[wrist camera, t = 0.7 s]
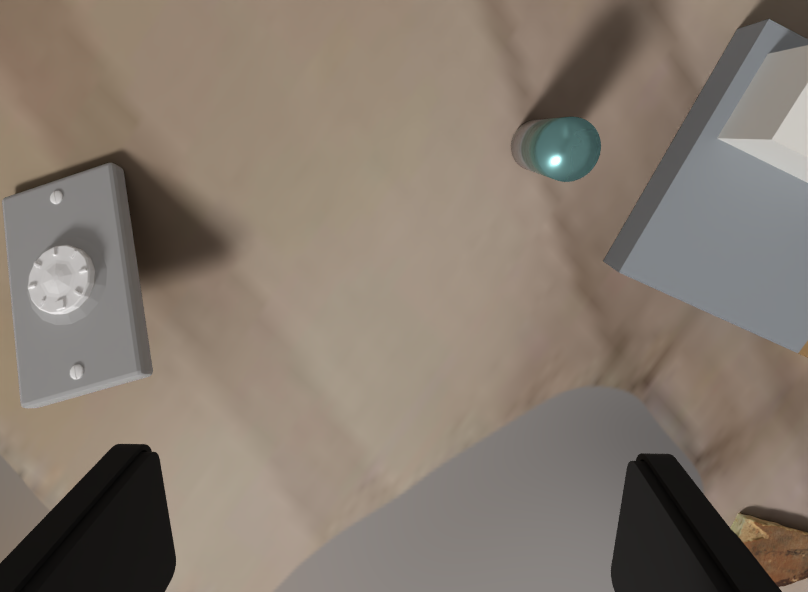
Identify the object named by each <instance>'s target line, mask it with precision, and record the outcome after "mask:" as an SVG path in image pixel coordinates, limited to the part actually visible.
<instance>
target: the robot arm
mask: <svg viewBox="0 0 808 592" xmlns="http://www.w3.org/2000/svg"><path fill="white" fill-rule="evenodd" d="M175 566H176V555H175V549H174V543H173V537H172V531H171V525H170V519H169V513H168V507H167V501H166V495H165V489H164V483H163V477H162V471H161V465H160V459H159V455H158V454H157V453H156V452H152V451H151V449H150V447H149V446H148V445H146V444H117V445H115V446H113V447H112V448H111V449H110V450H109V451H108V452H107V453H106V454H105V455H104V456H103V457H102V458H101V459H100V460H99V462H98V463H97V464H96V465H95V466H94V467H93V468H92V469H91V470H90V471H89V472H88V473H87V474H86V475H85V476H84V477H83V478H82V479H81V480H80V481H79V482H78V483H77V484H76V485H75V486H74V487H73V489H72V490H71V491H70V492H69V493H68V494H67V495H66V496H65V497H64V498H63V499H62V500H61V501H60V502H59V503H58V504H57V505H56V506H55V507H54V508H53V509H52V510H51V511H50V512H49V513H48V514H47V515H46V517H45V518H44V519H43V520H42V521H41V522H40V523H39V524H38V525H37V526H36V527H35V528H34V529H33V530H32V531H31V532H30V533H29V534H28V535H27V536H26V537H25V538H24V539H23V540H22V541H21V542H20V543H19V545H18V546H17V547H16V548H15V549H14V550H13V551H12V552H11V553H10V554H9V555H8V556H7V557H6V558H5V559H4V560H3V561H2V562H1V563H0V592H165V590H166V588H167V587H168V585H169V583H170V581H171V579H172V577H173V574H174V571H175ZM611 578H612V584H613V587H614V590H615V592H782V591H781V590H780V589H779V587H778V586H777V585H776V584H775V582H774V581H773V580H772V579H771V577H770V576H769V575H768V573H767V572H766V571H765V570H764V568H763V567H762V566H761V565H760V563H759V562H758V561H757V559H756V558H755V557H754V556H753V554H752V553H751V552H750V551H749V549H748V548H747V547H746V545H745V544H744V543H743V542H742V540H741V539H740V538H739V537H738V536H737V535H736V534H735V533H734V532H733V531H732V530H731V529H730V528H729V526H728V525H727V524H726V522H725V521H724V520H723V519H722V517H721V516H720V515H719V513H718V512H717V511H716V510H715V508H714V507H713V506H712V504H711V503H710V502H709V501H708V499H707V498H706V497H705V496H704V494H703V493H702V492H701V490H700V489H699V488H698V487H697V485H696V484H695V483H694V481H693V480H692V479H691V478H690V476H689V475H688V474H687V473H686V471H685V470H684V469H683V467H682V466H681V465H680V464H679V462H678V461H677V460H676V458H675V457H674V456H673V455H670V454H639V455H638V457H637V459H636V461H630V462H629V463H628V466H627V472H626V477H625V485H624V490H623V496H622V503H621V509H620V515H619V522H618V528H617V534H616V540H615V547H614V553H613V560H612V566H611Z"/></svg>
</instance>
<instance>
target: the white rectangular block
mask: <svg viewBox="0 0 808 592" xmlns="http://www.w3.org/2000/svg"><path fill="white" fill-rule="evenodd" d="M717 138H718V139H720V140H722V141H724V142H726V143H728V144H730V145H732V146H734V147H736V148H738V149H740V150H742V151H744V152H746V153H748V154H750V155H752V156H754V157H756V158H758V159H760V160H762V161H764V162H766V163H768V164H770V165H772V166H774V167H776V168H778V169H781V170H783V171H785V172H787V173H789V174H791V175H793V176H795V177H797V178H799V179H801V180H803V181H805V182H807V183H808V45H806V46H801V47H797V48H792V49H788V50H783V51H779V52H774V53H769V54H767V56H766V58H765V59H764V61H763V63H762V64H761V66H760V68H759V69H758V71H757V73H756V74H755V76H754V78H753V79H752V81H751V83H750V84H749V86H748V88H747V89H746V91H745V93H744V94H743V96H742V98H741V99H740V101H739V102H738V104H737V106H736V107H735V109H734V111H733V112H732V114H731V116H730V117H729V119H728V121H727V122H726V124H725V126H724V127H723V129H722V131H721V132H720V134H719V136H718V137H717Z"/></svg>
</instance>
